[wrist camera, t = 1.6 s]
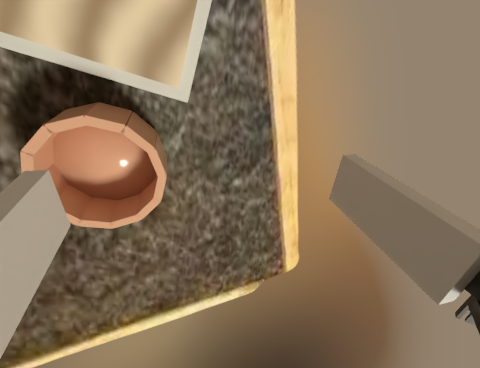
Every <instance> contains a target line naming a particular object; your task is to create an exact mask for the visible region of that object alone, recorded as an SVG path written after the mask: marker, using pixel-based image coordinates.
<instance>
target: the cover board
mask: <svg viewBox="0 0 480 368" xmlns="http://www.w3.org/2000/svg"><path fill="white" fill-rule="evenodd" d="M196 5H197V0H0V32H3V33H7V34H10V35H13V36H16V37H19V38H22V39H25V40H28V41H32V42H35V43H38V44H41V45H44V46H47V47H50V48H54V49H57V50H60V51H63V52H66V53H69V54H72V55H76V56H79V57H82V58H85V59H88V60H91V61H94V62H98V63H101V64H104V65H107V66H110V67H113V68H116V69H120V70H123V71H126V72H129V73H132V74H135V75H138V76H142V77H145V78H148V79H151V80H154V81H157V82H160V83H164V84H167V85H170V86H173V87H176V88H179V84H180V79H181V74H182V70H183V65H184V60H185V56H186V51H187V47H188V42H189V37H190V33H191V28H192V23H193V19H194V14H195V9H196Z"/></svg>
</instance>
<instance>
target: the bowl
mask: <svg viewBox="0 0 480 368" xmlns="http://www.w3.org/2000/svg"><path fill="white" fill-rule="evenodd" d="M20 154H21V169H22V173H23V172H24V171H34V170H49V172H50V174H51V177H52V179H53V182H54V185H55V187H56V190H57V192H58V195H59V197H60V200H61V202H62V205H63V208H64V210H65V213H66V215H67V218H68V220H69V222H70V223H72V224H75V225H77V226H78V225H79V226H84V227H96V228H109V229H112V228H116V227H120V226H123V225H126V224H130V223H133V222H136V221H140V220H141V219H143V218H144V217H145V216H146V215H147V214H148V213H149V212H150V211H152V210H153V209H154V208H155V207H156V206H157V205H158V204H159V203H160V202H161V200H162V195H163V191H164V187H165V182H166V178H167V156H166V153H165V150H164V148H163V145H162V143H161V140H160V138H159V135H158V132H157V131H156V130H155V129H154V128H152V127H151V126H150V125H149V124H148V123H146V122H145V121H144V120H143V119H142V118H141V117H139V116H138V115H137V114H136V113H135V112H132V111H131V110H127V109H123V108H120V107H116V106H112V105H108V104H104V103H100V102H99V103H98V102H96V103H92V104H88V105H83V106H79V107H75V108H70V109H66V110H65V111H63V112H62V113H60V114H59V115H57V116H56V117H54V118H53V119H51V120H50V121H48V122H47V123H45V124H44V125H42V127H41V128H40V129H39V130H38V131H37V132H36V134H35V135H34V136H33V137H32V138H31V139H30V141H29V142H28V143H27V144H26V145H25V146H24V148H23V149H22V150H21V152H20Z"/></svg>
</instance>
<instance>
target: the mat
mask: <svg viewBox="0 0 480 368" xmlns="http://www.w3.org/2000/svg"><path fill="white" fill-rule="evenodd" d="M211 1H212V0H197V5H196V9H195V14H194V19H193V23H192V28H191V33H190V37H189V42H188V47H187V51H186V56H185V60H184V65H183V70H182V74H181V79H180V84H179V88H176V87H173V86H170V85H167V84H164V83H160V82H157V81H154V80H151V79H148V78H145V77H142V76H138V75H135V74H132V73H129V72H126V71H123V70H120V69H116V68H113V67H110V66H107V65H104V64H101V63H98V62H94V61H91V60H88V59H85V58H82V57H79V56H76V55H72V54H69V53H66V52H63V51H60V50H57V49H54V48H50V47H47V46H44V45H41V44H38V43H35V42H32V41H28V40H25V39H22V38H19V37H16V36H13V35H10V34H7V33H3V32H0V47H3V48H6V49H9V50H13V51H16V52H20V53H23V54H26V55H30V56H33V57H36V58H40V59H43V60H46V61H50V62H53V63H56V64H60V65H63V66H66V67H70V68H73V69H76V70H80V71H83V72H86V73H90V74H93V75H96V76H100V77H103V78H106V79H110V80H113V81H117V82H120V83H123V84H127V85H130V86H133V87H137V88H140V89H143V90H147V91H150V92H153V93H157V94H160V95H163V96H167V97H170V98H173V99H177V100H180V101H183V102H188V98H189V94H190V90H191V86H192V81H193V77H194V73H195V69H196V64H197V60H198V56H199V52H200V48H201V43H202V39H203V35H204V31H205V26H206V22H207V18H208V14H209V10H210V5H211Z"/></svg>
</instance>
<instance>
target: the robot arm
mask: <svg viewBox="0 0 480 368" xmlns="http://www.w3.org/2000/svg"><path fill="white" fill-rule="evenodd" d="M330 200H331V201H332V202H333V203H334V204H335V205H336V206H337V207H338V208H340V209H341V211H342V212H343V213H345V214H346V215H347V216H348V217H349V218H350V219H351V220H352V221H353V222H354V223H355V224H356V225H357V226H358V227H359V228H360V229H361V230H362V231H363V232H364V233H365V234H366V235H367V236H368V237H369V238H370V239H371V240H372V241H373V242H374V243H375V244H376V245H377V246H378V247H380V249H381V250H383V251H384V252H385V253H386V254H387V255H388V256H389V257H390V258H391V259H392V260H393V261H394V262H395V263H396V264H397V265H398V266H399V267H400V268H401V269H402V270H403V271H404V272H405V273H406V274H407V275H408V276H409V277H410V278H411V279H412V280H413V281H414V282H415V283H416V284H417V285H418V286H419V287H420V288H421V289H423V291H425V292H426V293H427V294H428V295H429V296H430V297H431V298H432V299H433V300H434V301H435V302H436V303H437V304H438V305H440V304H443V303H447V302H451V301H454V300H455V299H456V298H457V297H458V296H459V295H460V294H461V292H462V291H463V290H464V289H465V290H466V291H468V292H469V293H470V294H471V296H470V297H469V298H468V299H467V300H466V301H465V303H464V304H463V305H462V306H461V307H460V308H459V309H458V310H457V311H456V313H455V315H456V318H458V319H460V318H461V317H462V316H463V315H464V314H465V313H466V312H469V313H470V314H469V315H468V316H467V317H466V319H465V321H466V322H468V323H471V324H474V325H476V327H477V329H478V331H479V333H480V229H478V228H477V227H475V226H473V225H472V224H470V223H468V222H467V221H465V220H463V219H462V218H460V217H458V216H457V215H455V214H453V213H452V212H450V211H448V210H447V209H445V208H443V207H442V206H440V205H438V204H437V203H435V202H433V201H431V200H430V199H428V198H427V197H425V196H423V195H422V194H420V193H419V192H417V191H415V190H414V189H412V188H410V187H409V186H407V185H405V184H403V183H402V182H400V181H398V180H397V179H395V178H394V177H392V176H390V175H389V174H387V173H385V172H384V171H382V170H380V169H379V168H377V167H375V166H374V165H372V164H370V163H369V162H367V161H365V160H364V159H362V158H361V157H359V156H357V155H355V154H354V155H343V157H342V160H341V163H340V166H339V169H338V173H337V176H336V179H335V182H334V185H333V189H332V192H331V195H330ZM70 226H71V225H70V223H69V220H68V218H67V215H66V213H65V210H64V208H63V205H62V202H61V200H60V197H59V195H58V192H57V190H56V187H55V185H54V182H53V179H52V177H51V174H50V172H49V170H34V171H24V172H23V173H22V174H21V175H20V176H18V177H17V178H16V179H15V180H14V181H13V182H12V183H11V184H10V185H9V186H7V187H6V188H5V189H4V190H3V191H2V192H1V193H0V358H1V356H2V354H3V352H4V351H5V349H6V347H7V345H8V343H9V341H10V339H11V337H12V335H13V334H14V332H15V330H16V328H17V326H18V324H19V322H20V320H21V318H22V317H23V315H24V313H25V311H26V309H27V307H28V305H29V303H30V301H31V299H32V298H33V296H34V294H35V292H36V290H37V288H38V286H39V284H40V282H41V281H42V279H43V277H44V275H45V273H46V271H47V269H48V267H49V265H50V264H51V262H52V260H53V258H54V256H55V254H56V252H57V250H58V248H59V246H60V245H61V243H62V241H63V239H64V237H65V235H66V233H67V231H68V229H69V228H70Z"/></svg>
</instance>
